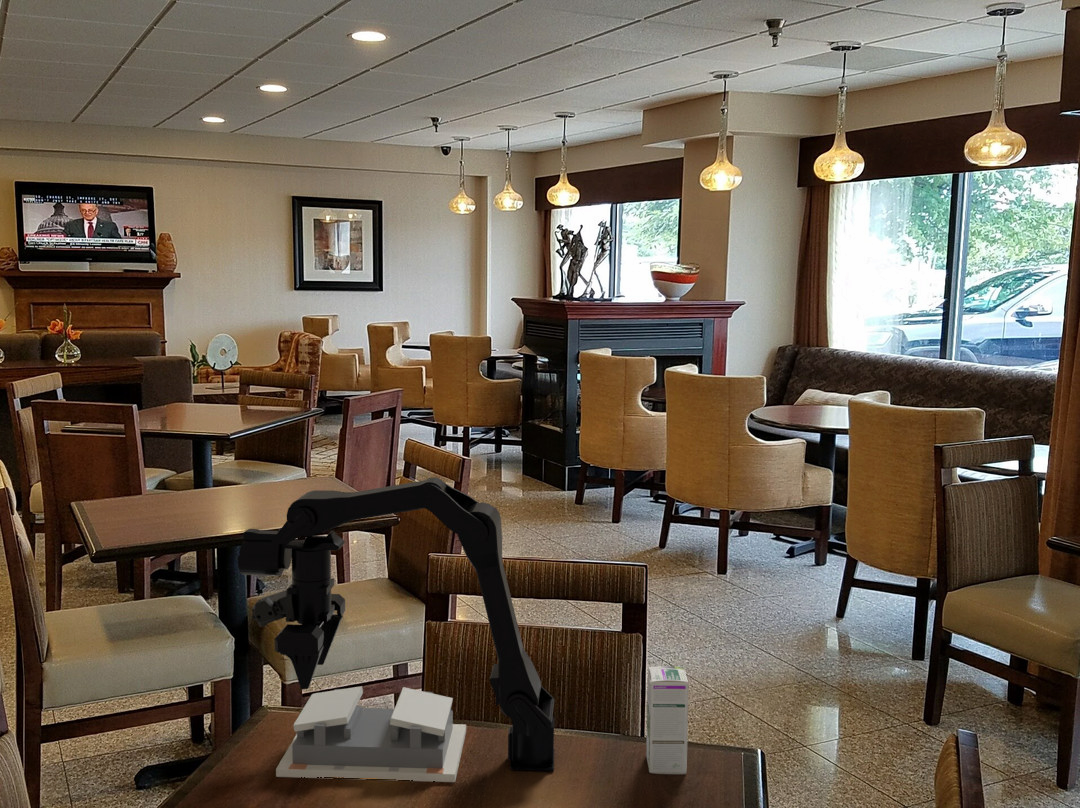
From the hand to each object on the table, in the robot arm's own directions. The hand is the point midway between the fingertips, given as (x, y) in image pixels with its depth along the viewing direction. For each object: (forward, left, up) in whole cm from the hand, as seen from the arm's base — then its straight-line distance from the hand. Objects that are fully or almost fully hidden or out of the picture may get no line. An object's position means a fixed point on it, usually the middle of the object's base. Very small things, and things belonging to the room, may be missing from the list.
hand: (312, 676), depth 149 cm
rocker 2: (-17, 0, -5) cm, 18 cm away
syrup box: (-54, +1, -12) cm, 55 cm away
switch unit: (-10, 0, -12) cm, 15 cm away
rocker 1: (-3, 0, -5) cm, 6 cm away
